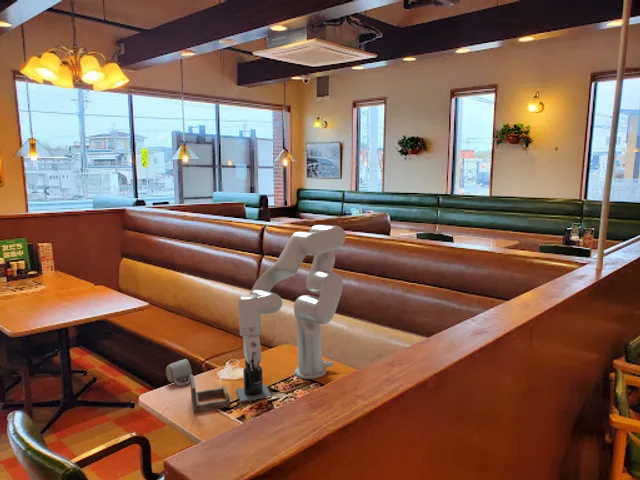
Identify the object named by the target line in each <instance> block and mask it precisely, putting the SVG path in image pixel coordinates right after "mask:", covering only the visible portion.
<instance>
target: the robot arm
mask: <svg viewBox="0 0 640 480" xmlns="http://www.w3.org/2000/svg"><path fill="white" fill-rule="evenodd" d="M345 242H346V232H345V230H344V229H343V228H342V227H341V226H338V225H328V224H314V225H313V226H311V227H310V229H309V231H295V232H293V234H292V235H291V236H290V238H289V239H288V241H287V242H286V245H285V246H284V248H283V250H281V253H280V255H279V256H278V258H277V260H276V261H275V263H274V264H272V265H271V266H270V267H269V268H267V269H266V270H265V271H264V272H263V273H262V274H260V276H259V277H258V278H257V279H256V281H255V282H254V285H253V286H252V288H251V290H250V292H249V294H245V295H240V296H239V298H238V299H237V305H238V320H239V321H238V323H239V326H238V327H239V335H240V336H241V337H242V340H243V341H242V344H243V346H242V347H243V356H244V359H245V361H244V364H245V366H244V368H245V367H246V360H247V362H248V363H249V364H250V367H251V370H250V380H251V382H254V381H259V380H260V373H259V366H260V365H258V362H259V363H262V349H261V347H262V346H261V339H260V335H261V334H262V326H261V323H262V322H261V315H271V314H276V313H277V312H279V311H280V310H281V308H282V306H283V299H282V297H281V296H280V295H279V294H277V293H275V292H272V289H273V287H274V286H275V285H277V284H278V283H279V282H281V281H282V280H285V279H288V278H291V277H293V276H295V275H296V274H297V272H298V271H299V268H300V267H301V265H302V263H303V261H304V260H305V258H306V256H308V255H309V256H313V259H312V263H311V267H310V269H309V272H308V274H307V278H306V282H305V287H306V289H307V290H308V292H309V291H310V292H311V293H313V294H317V295H319V296H315V295H310V294H303V295H300V296H298V297H297V298H296V300H295V301H294V304H293V311H294V312H293V313H294V316H295V317H294V318H295V321H296V335H297V341H296V342H297V362H298V363H297V367H296V368H295V370H294V375H295V376H296V377H297V378H300V379H304V380H305V379H306V380H313V379H315V380H316V379H319V378H323V376H325V375H326V374H327V367H329V368H330V367H334V366H335V362H334V361H329V360H323V354H322V352H323V349H322V327H321V325H328V324H329V323H330V322H331V321H332V320H333V318H334V316H335V314H336V312H337V308H338V305H339V301H340V299H341V296H342V293H343V289H344V283H343V279H342V277H341V276H340V274H338V273H336V272H333V269H334V267H335V263H336V254H335V251H334V250H336V249H339V248H341V247H342V246H343V245H344V244H345ZM251 361H254V362H251ZM252 364H254V365H253V367H252Z"/></svg>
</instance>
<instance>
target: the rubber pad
mask: <svg viewBox="0 0 640 480" xmlns="http://www.w3.org/2000/svg"><path fill="white" fill-rule="evenodd" d="M235 392H236V395H237V397H238V399H239V402H240V403H241V402H243V403H246V402H245V401H249V400H254V401H256V400H255V399H260V398H264V397H267V396H271V397H272V394H271V392H270V390H269V388H268V386H267V385H266V384H265V383H263V391H262V393H260V394H258V395H247V394H245V392H244V387H239V388H236V389H235ZM260 400H261V399H260ZM249 402H250V401H249Z"/></svg>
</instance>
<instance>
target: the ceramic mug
mask: <svg viewBox="0 0 640 480" xmlns="http://www.w3.org/2000/svg"><path fill="white" fill-rule="evenodd" d="M191 367H192V366H191V364H190V362H189V360H188V359H187V358H185V359H181V360H177V361H176V362H172V363H169V364H167V366H166V367H165V374H166V378H167V380H168V382H169V383H174V384H176V385H177V386H179V387H185V386H187V384H188V385H189V384H190V375H192V374H193V373H192V371H193V370H192V368H191ZM185 380H187V381H186V382H182V381H185ZM180 381H181V382H180ZM184 385H185V386H184Z"/></svg>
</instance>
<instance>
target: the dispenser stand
mask: <svg viewBox="0 0 640 480" xmlns="http://www.w3.org/2000/svg"><path fill="white" fill-rule="evenodd" d="M189 384H190V394H191V396H190V397H191V398H190V399H191V404H192V409H193V410H192V411H193V414H194V415H197V414H199V413H204V412H209V411H215V410H219V409H218V408H221V409H225V408H224V407H226V408H230V407H231V405H230V403H231V402H230V400H231V399H230V395H229V392H228V389H227V387H226V384H224V383H222V385H221V387H217V388H211V389H206V390H200V391H196V385H195V379H194V374H193V373H192V375H190V382H189ZM220 396H222V397H223V399H219V400H216V401H215V400H213V401H209V402H204V403H203V402H202V403H200V402H199V401H200V400H202V399H203V400H204V399H208V398H209V399H210V398H213V397H220ZM229 406H230V407H229Z"/></svg>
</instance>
